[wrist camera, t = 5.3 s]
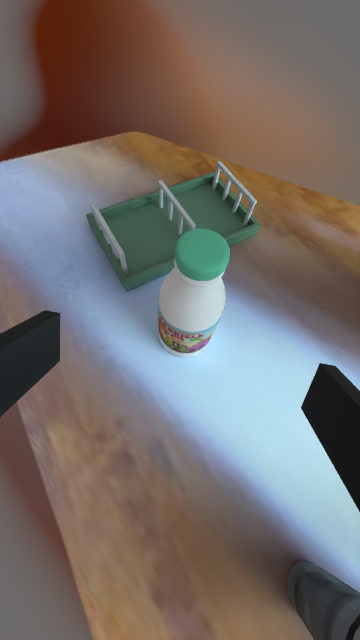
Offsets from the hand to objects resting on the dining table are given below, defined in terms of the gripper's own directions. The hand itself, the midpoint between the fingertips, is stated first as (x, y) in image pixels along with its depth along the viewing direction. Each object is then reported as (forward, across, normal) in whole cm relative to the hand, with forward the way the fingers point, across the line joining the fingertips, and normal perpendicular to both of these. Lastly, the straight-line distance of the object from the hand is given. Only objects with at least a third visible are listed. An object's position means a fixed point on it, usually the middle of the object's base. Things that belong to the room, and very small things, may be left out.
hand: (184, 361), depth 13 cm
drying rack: (+39, -5, +5) cm, 40 cm away
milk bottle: (+24, 0, -9) cm, 26 cm away
